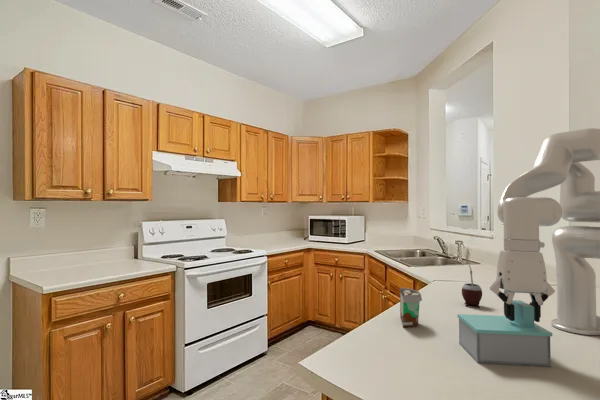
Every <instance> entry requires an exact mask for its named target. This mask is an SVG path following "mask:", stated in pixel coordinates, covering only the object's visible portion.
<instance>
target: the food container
mask: <svg viewBox="0 0 600 400" xmlns="http://www.w3.org/2000/svg"><path fill="white" fill-rule="evenodd" d="M422 297H423V296H422V294H421V292H420V290H419V291H418V290H416V289H413V288H408V287H400V288H399V298H400V300H399V302H400V305H399V308H400V309H399V310H400V311H399V313H400V314H399V315H400V316H399V319H400V322H401V326H402V328H404V329H405V328H406V329H407V328H408V329H410V328H412V329H413V328H416V327H418V326H419V319H420V318H419V316H420V302H421V301H422V300H423V298H422Z"/></svg>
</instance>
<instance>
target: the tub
mask: <svg viewBox="0 0 600 400" xmlns="http://www.w3.org/2000/svg"><path fill="white" fill-rule="evenodd" d="M458 333H459V334H458V335H459V336H458V339H459V342H458V344H459V345H460V346H461V347H462V348H463V349H464V351H465V352H467V354H469V356H470V357H472V359H474V361H475V362H476V363H477V364H492V365H505V366H509V365H510V366H523V367H524V366H526V367H527V366H528V367H546V368H551V367H552V366H551V365H552V363H551V362H552V360H551V359H552V358H551V357H552V356H551V355H552V354H551V336H530V335H508V334H486V333H476V332H475V331H474V330H472V329H471V328H470V327H469V326H468V325H466V324H465V323H464V322H463V321H462V320H460V319H459V318H458Z"/></svg>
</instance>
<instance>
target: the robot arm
mask: <svg viewBox="0 0 600 400" xmlns="http://www.w3.org/2000/svg"><path fill="white" fill-rule="evenodd" d="M538 150H539V151H538V153H537V155H536V158H535V160H534V163H533V165H532V167H531V168H530V169H529V170H527V171H525V172H523V173H522V174H520V175H519V176H518V177H516V178H515V179H513V180H512V181H511V182H510V183H508V184H507V186H506V187H505V189H504V191H503V192H502V195H501V197H500V199H499V202H498V204H497V210H496V211H497V216H498V220H500V222H502V224H503V250H500V251H499V255H498V258H497V264H496V265H497V266H496V278H495V281H494V282H492V285H490V286H489V290H490V291H491V292H492V293H494V294H495V295H496V296H497V297H498V298H499V299H500V300H501V301H502V303H503V316H505V317H506V318H507V319H509V320H511V321H514V320H515V311H514V305H513V304H512V301H513V300H514V297H515V294H521V293H522V294H529V298H530V300H531V302H529V303H528V304H529V305H531V306H533V307H534V322H536V323H540V321H541V319H540V318H541V315H542V314H541V313H542V311H541V308H542V306H543V305H544V302H546V300H548V299H549V297H550V296H553V294H554V293H555V292H556V316H557V318H555V319H554V318H553V319H552V320H550V321H551V323H550V324H551V325H552V326H553V327H554V328H555V329H558V330H561V331H564V332H569V333H572V334H577V335H579V334H580V335H587V336H600V316H599V315H597V286H596V285H597V284H596V283H597V282H596V281H597V280H596V272H595V269H594V268H593V267H592V265H591V264H590V262H588V261H587V260H586V259H594V260H595V259H598V260H600V226H588V225H587V226H586V225H585V226H584V225H564V226H560V227H558V228H556V229H554V231H553V233H552V235H551V242H552V247H553V252H554V256H555V258H554V259H555V266H556V267H555V271H556V273H555V274H556V276H555V277H556V290H555V289H554V287H552V285H551V284H550V283H549V282H548V280H547V279H548V278H547V270H546V269H547V268H546V263H545V259H544V256H543V253H542V252H540V251H541V249H543V248H545V243H544V241H541V240H540V227H551V226H554V225H556V224H558V222H559V221H560V220H561V219H563V220H564V221H566V222H575V223H576V222H577V223H596V224H597V223H600V190H599V191H598V190H597V191H596V190H595V181H596V180H595V175H594V174H593V173H592V171H591V170H590V169H589V168H587V167H586V166H585V165H584V164H583V162H592V161H600V128H596V127H595V128H594V127H593V128H583V129H576V130H571V131H563V132H557V133H554V134H551V135H549V136H547V137H545V139H544V140H543V142H541V145H540V147H539V149H538ZM559 185H560V188H559V189H560V192H559V201H557V200H556V199H554V198H551V197H546V196H545V197H532V196H531V195H534V194H538V193H540V192H543V191H546V190H550V189H552V188H555V187H557V186H559ZM529 196H530V197H529ZM501 290H503V292H502V291H501Z"/></svg>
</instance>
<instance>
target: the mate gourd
mask: <svg viewBox="0 0 600 400" xmlns="http://www.w3.org/2000/svg"><path fill="white" fill-rule="evenodd" d="M468 268H469V274H470V283H464V284H463V285H462V287H461V296H462V298H463V300H464V305H465V307H467V308H469V307H474V308H477V309H480V302H481V300H482V299H483V298H482V297H483V290H482V287H481V286H480V285H479V284H476V283H474V281H473V270H472V268H471V264H468Z"/></svg>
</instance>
